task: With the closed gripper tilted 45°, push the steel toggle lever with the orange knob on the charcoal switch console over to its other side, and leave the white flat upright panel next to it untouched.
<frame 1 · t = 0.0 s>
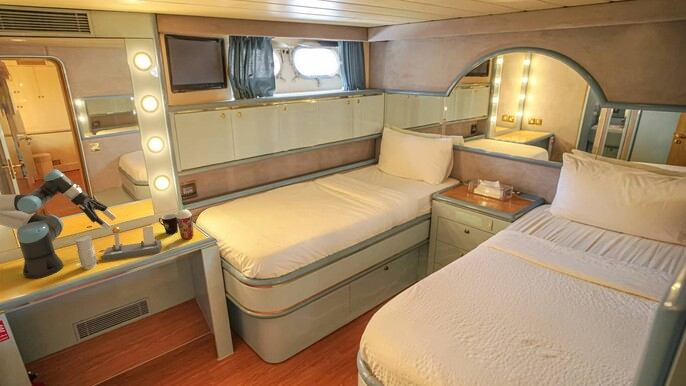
hand: (111, 223, 199), 15 cm above the table, tool tilted 35°, fingers open, 13 cm apart
steel toggle: (116, 237, 197), point 9 cm above the table, hinge at -24.0°
white flat upright panel: (148, 235, 201), point 8 cm above the table, hinge at -24.0°
switch console: (134, 252, 199), on the table
coffee mug: (170, 231, 226), on the table
smoothie: (187, 238, 216), on the table
candle: (90, 266, 186), on the table
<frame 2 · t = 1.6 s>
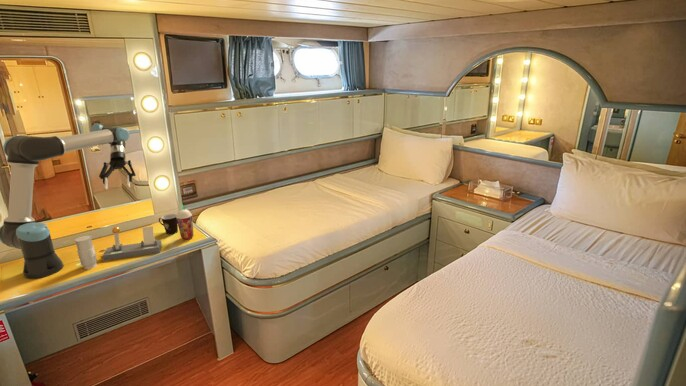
hand: (117, 187, 210), 30 cm above the table, tool tilted 45°, fingers open, 10 cm apart
nothing on the table moved.
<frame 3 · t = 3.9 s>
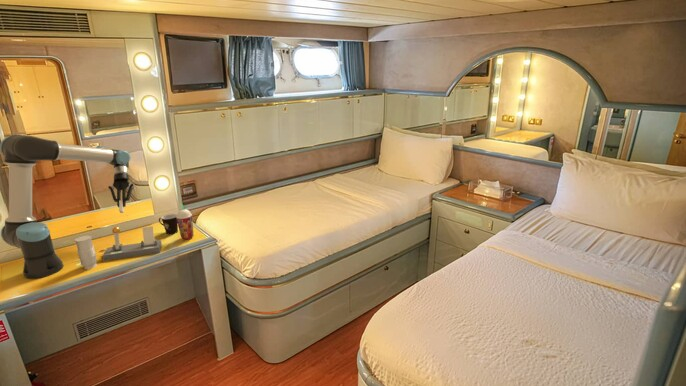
hand: (121, 211, 208), 18 cm above the table, tool tilted 45°, fingers closed
nothing on the table moved.
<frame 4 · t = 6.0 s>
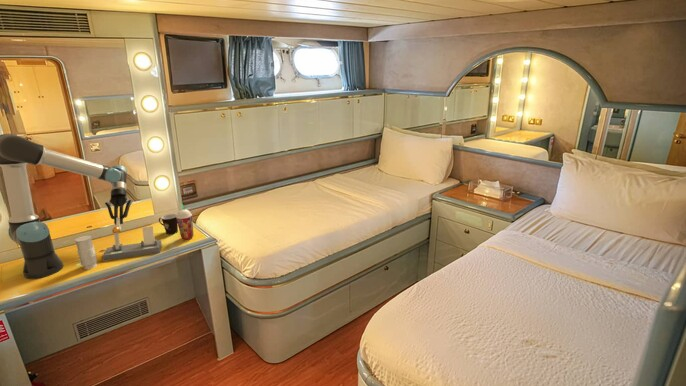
hand: (118, 229, 200), 11 cm above the table, tool tilted 45°, fingers closed
steel toggle: (116, 237, 197), point 9 cm above the table, hinge at -24.0°, touching gripper
everything else where it was.
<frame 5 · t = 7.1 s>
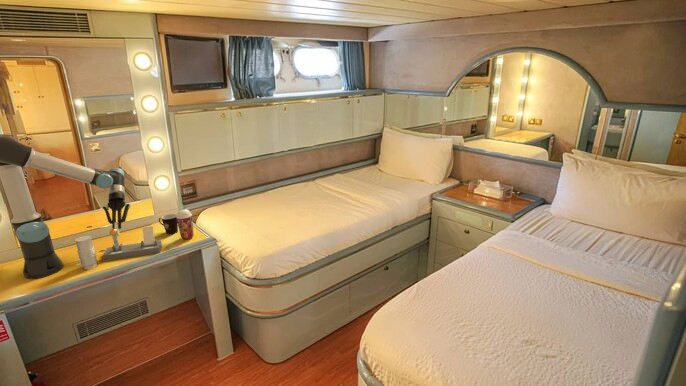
hand: (116, 234, 195), 11 cm above the table, tool tilted 45°, fingers closed
steel toggle: (115, 238, 194), point 9 cm above the table, hinge at 4.9°, touching gripper
everything else where it was.
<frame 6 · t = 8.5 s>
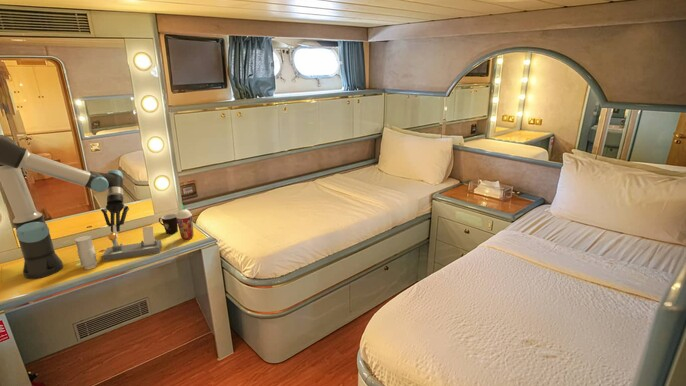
hand: (115, 237, 193), 10 cm above the table, tool tilted 45°, fingers closed
steel toggle: (114, 241, 192), point 9 cm above the table, hinge at 25.9°, touching gripper
everything else where it was.
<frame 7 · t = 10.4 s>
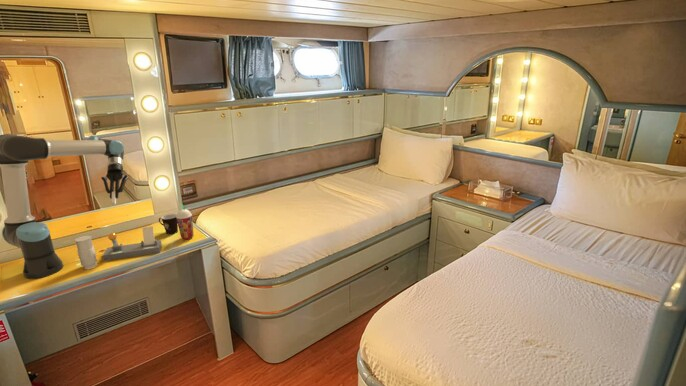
hand: (113, 203, 203), 24 cm above the table, tool tilted 45°, fingers closed
steel toggle: (114, 241, 192), point 9 cm above the table, hinge at 25.9°
everything else where it was.
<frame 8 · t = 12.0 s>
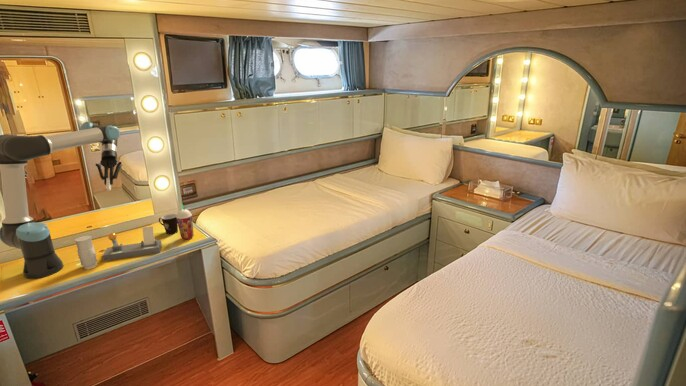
hand: (108, 189, 203), 31 cm above the table, tool tilted 45°, fingers closed
nothing on the table moved.
at the end: steel toggle at +26° (first picture: -24°); white flat upright panel at -24° (first picture: -24°) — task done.
